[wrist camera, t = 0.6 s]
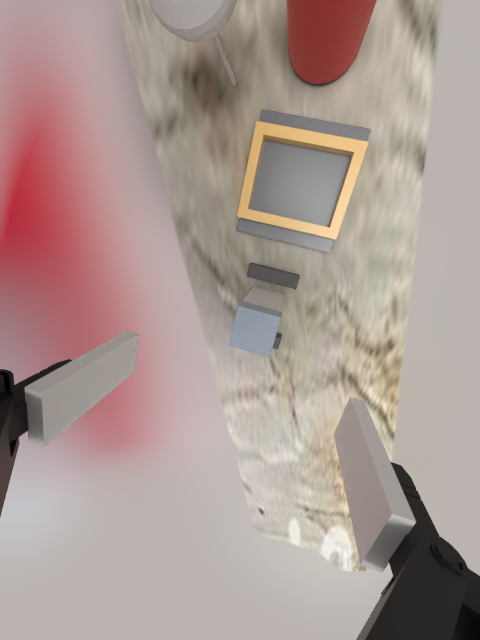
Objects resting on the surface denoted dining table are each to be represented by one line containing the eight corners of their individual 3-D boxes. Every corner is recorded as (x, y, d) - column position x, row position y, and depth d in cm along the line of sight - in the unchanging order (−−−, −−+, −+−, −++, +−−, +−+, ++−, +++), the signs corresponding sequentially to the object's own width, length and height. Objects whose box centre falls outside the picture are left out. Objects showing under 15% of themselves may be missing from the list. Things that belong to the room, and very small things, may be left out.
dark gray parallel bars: (251, 262, 32) (249, 264, 30) (299, 274, 31) (299, 276, 30) (235, 332, 35) (232, 336, 34) (278, 344, 34) (277, 349, 33)
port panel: (262, 111, 27) (259, 102, 25) (369, 131, 26) (375, 123, 24) (237, 230, 31) (234, 230, 29) (329, 252, 30) (331, 253, 28)
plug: (254, 286, 33) (238, 305, 23) (284, 294, 32) (281, 317, 23) (246, 315, 34) (228, 344, 25) (276, 323, 34) (269, 356, 24)
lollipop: (257, 121, 27) (218, -1, 13) (204, 116, 28) (114, -5, 14) (267, 46, 25) (235, -192, 11) (210, 42, 26) (113, -183, 12)
